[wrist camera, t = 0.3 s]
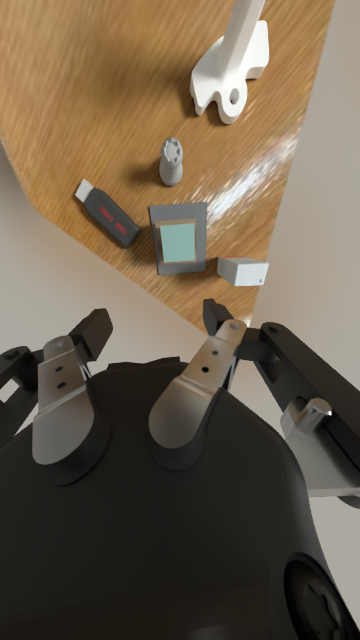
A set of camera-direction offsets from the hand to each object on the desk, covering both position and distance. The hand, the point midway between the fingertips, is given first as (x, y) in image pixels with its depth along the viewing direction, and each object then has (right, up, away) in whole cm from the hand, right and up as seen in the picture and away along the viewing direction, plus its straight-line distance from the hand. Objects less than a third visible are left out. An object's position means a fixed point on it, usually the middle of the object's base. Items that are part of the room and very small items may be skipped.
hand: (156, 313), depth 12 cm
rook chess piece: (0, +28, +16) cm, 32 cm away
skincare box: (+14, +14, +25) cm, 32 cm away
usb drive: (-13, +22, +19) cm, 31 cm away
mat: (+2, +18, +22) cm, 28 cm away
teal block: (+1, +15, +18) cm, 24 cm away
